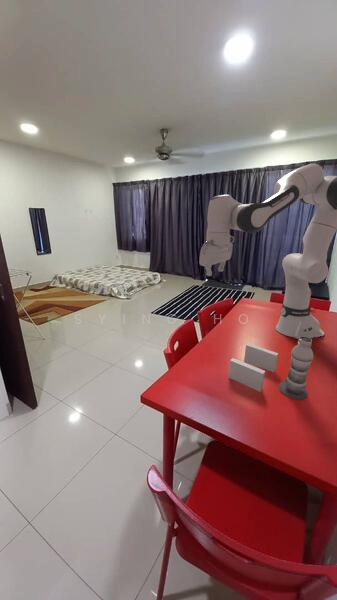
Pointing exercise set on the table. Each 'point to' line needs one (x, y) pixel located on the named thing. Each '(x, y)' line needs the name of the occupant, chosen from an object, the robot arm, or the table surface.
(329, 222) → the robot arm
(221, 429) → the table surface
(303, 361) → the plastic bottle
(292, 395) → the mat
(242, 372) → the guide channel
